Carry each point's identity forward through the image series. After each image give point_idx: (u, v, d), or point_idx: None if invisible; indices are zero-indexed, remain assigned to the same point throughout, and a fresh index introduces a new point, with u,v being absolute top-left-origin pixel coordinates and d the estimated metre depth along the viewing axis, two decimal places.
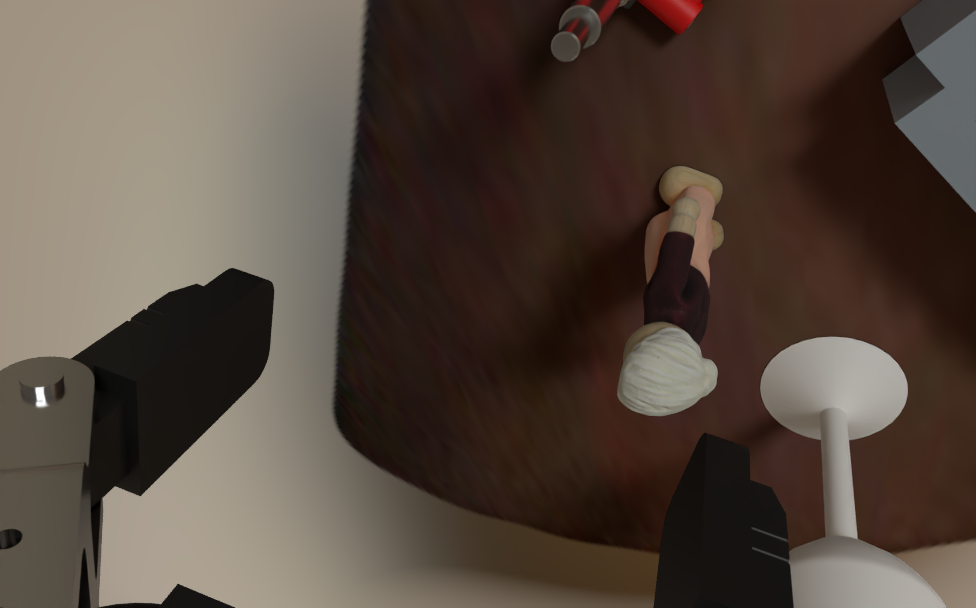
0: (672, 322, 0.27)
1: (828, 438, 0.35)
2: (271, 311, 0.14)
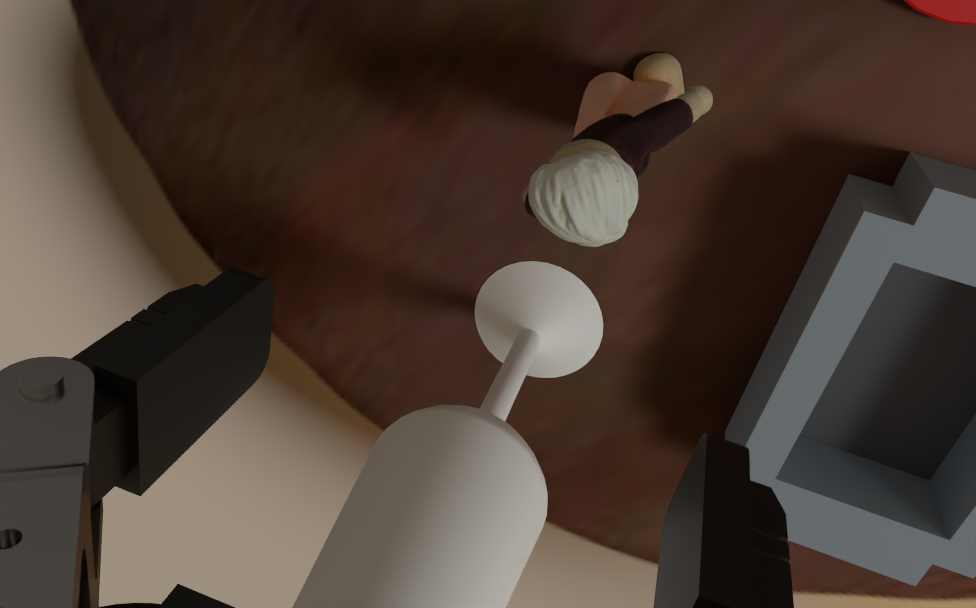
0: None
1: (522, 351, 0.35)
2: (272, 312, 0.14)
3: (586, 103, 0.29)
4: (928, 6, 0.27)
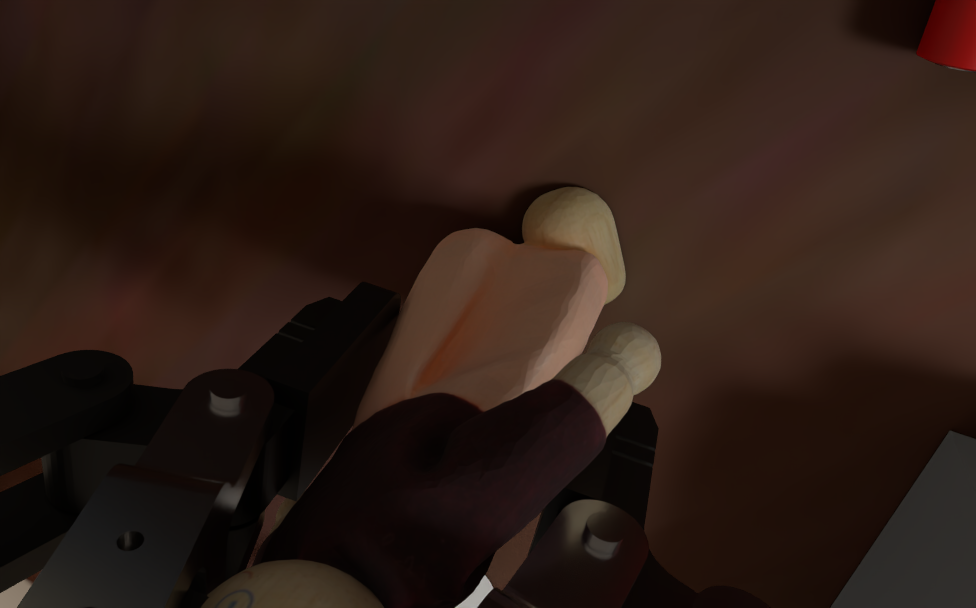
0: (391, 601, 0.09)
1: None
2: None
3: (399, 324, 0.13)
4: None
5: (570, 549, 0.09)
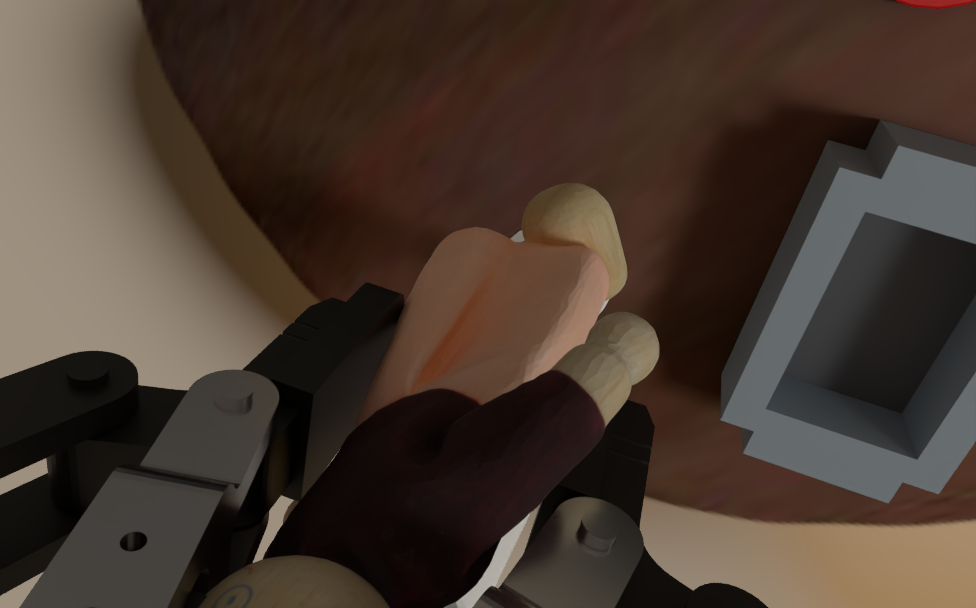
0: (393, 595, 0.09)
1: None
2: None
3: (400, 323, 0.14)
4: None
5: (566, 547, 0.09)
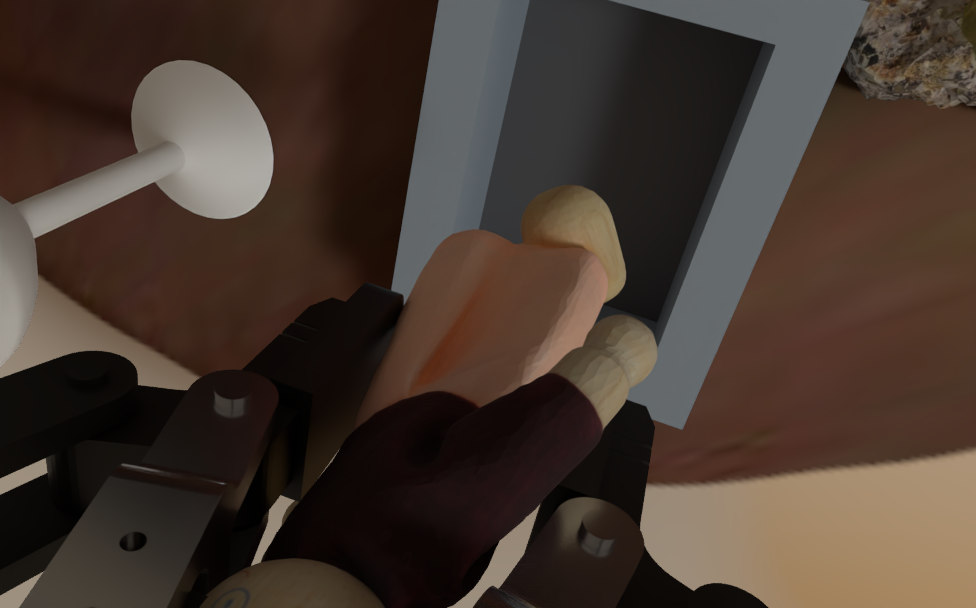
0: (391, 598, 0.09)
1: (137, 157, 0.28)
2: None
3: (399, 325, 0.14)
4: None
5: (566, 547, 0.09)
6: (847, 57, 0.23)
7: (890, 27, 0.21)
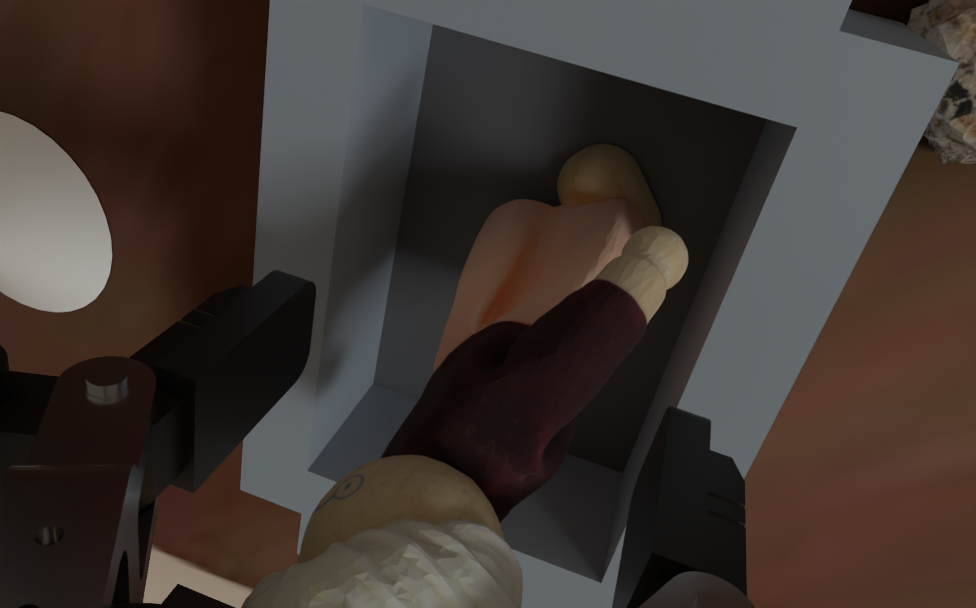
0: (483, 484, 0.10)
1: None
2: (313, 312, 0.14)
3: (459, 286, 0.15)
4: None
5: None
6: None
7: None
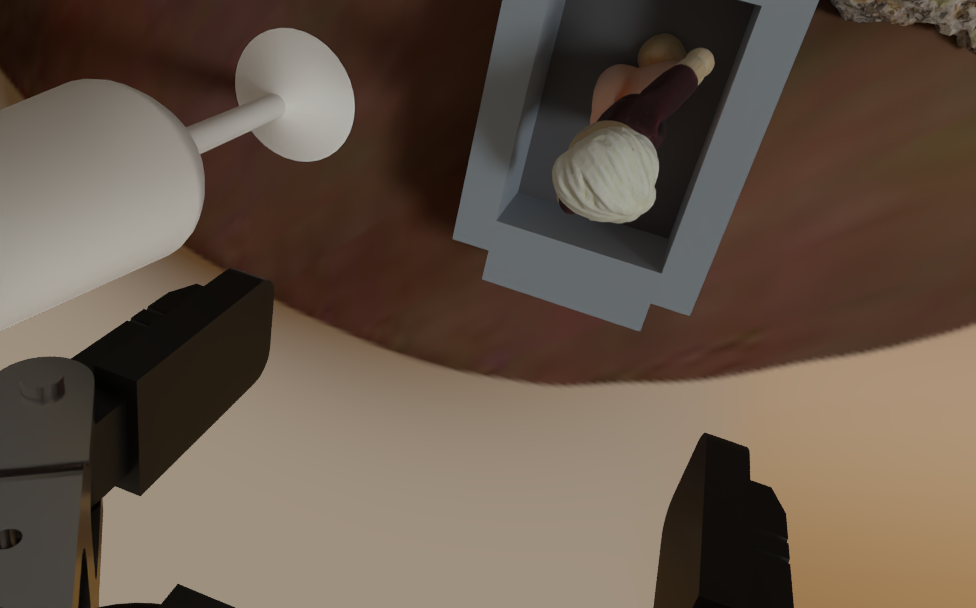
0: None
1: (253, 103, 0.35)
2: (271, 312, 0.14)
3: (596, 97, 0.30)
4: None
5: None
6: None
7: None
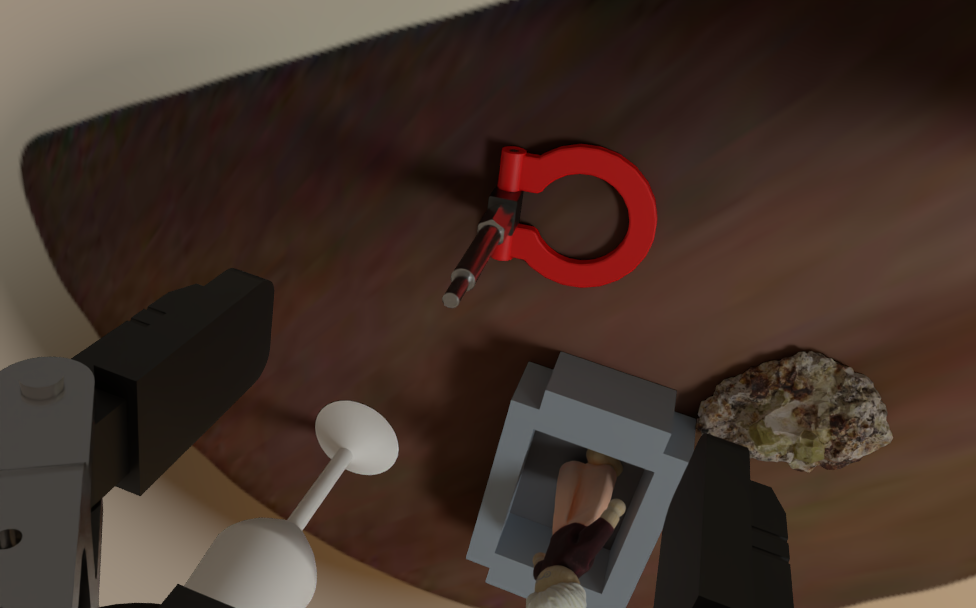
0: (574, 571, 0.43)
1: (333, 467, 0.53)
2: (271, 311, 0.14)
3: (557, 500, 0.48)
4: (550, 275, 0.45)
5: None
6: None
7: (719, 426, 0.45)
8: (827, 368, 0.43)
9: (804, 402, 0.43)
